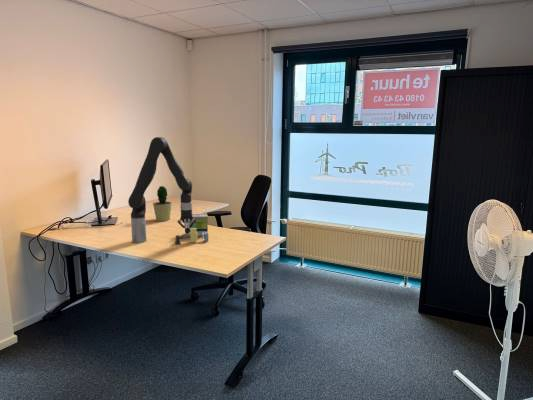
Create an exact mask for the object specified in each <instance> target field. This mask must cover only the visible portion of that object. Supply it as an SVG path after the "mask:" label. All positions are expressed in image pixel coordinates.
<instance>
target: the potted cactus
mask: <svg viewBox="0 0 533 400" xmlns="http://www.w3.org/2000/svg"><path fill="white" fill-rule="evenodd" d="M168 195H169V194H168V190H167V188H166V186H163V185H160V186H158V188H157V190H156V197H157V200H158V201H156V202H155V201H154V202H153V203H152V206H153V211H154V214H155V215H154V216H155V220H156V221H157V222H168V220H169V221H170V220H171V215H172V214H171V212H172V205H173V204H172V203H173V202H171V201H167V198H168Z"/></svg>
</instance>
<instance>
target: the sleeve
mask: <svg viewBox="0 0 533 400" xmlns="http://www.w3.org/2000/svg"><path fill="white" fill-rule="evenodd" d="M189 235H190V238H189V241H190V242H194V241H198V240H199V238H198V234H197V229H196V228H190V232H189Z"/></svg>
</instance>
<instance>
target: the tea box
mask: <svg viewBox="0 0 533 400" xmlns="http://www.w3.org/2000/svg"><path fill="white" fill-rule="evenodd" d="M192 217H193V218H194V219H195V220H196V222H195V223H194V225H193V226H192V227H190V228H196V229H197V234H198V235H200V234H202V233H204V232H208V233H209V231H208V227H209V226H208V225H209V224H208V221H209V220H208V218H209V216H208V214H207V213H192ZM192 222H193V221H191V222H190V224H191V223H192ZM190 228H189V232H190ZM187 235H189V233H188V234H186V236H187Z"/></svg>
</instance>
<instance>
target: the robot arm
mask: <svg viewBox="0 0 533 400" xmlns="http://www.w3.org/2000/svg"><path fill="white" fill-rule="evenodd" d="M160 154H161V155H163V158H164V159H165V161H166V164H167V167H168V169H169V171H170V173H171V174H172V175H173V177H174V179H175V182H176V184H177V186H178V188H179V189H180V190H181V194H180V206H179V207H180V218H179V219H178V220H176V222H177V223H178V224H179V225H180V227H182V228H183V229H184V233H185V234H186V235H187V234H188V233H189V228H190V227H192V226H193V225H194V223H195V222H196V220H195V219H194V218H193V217H192V214H193V204H192V192H193V182H192V181H191V180H190V179H189V178H186V177H185V175H184V174H185V172H184V170H183V168H182V167H181V165H180V164H179V163H178V161H177V160H176V158H175V155H174V154H173V151H172V150H171V148H170V145H169V143H168V141H167V139H166V138H164V137H161V136H155V137H154V138H153V139H151V141H150V143H149V146H148V151H147V155H146V156H145V160H144V162H143V164H142V167H141V169H140V172H139V174H138V177H137V179H136V182H135V186H134V188H133V189H132V192H131V194H130V196H129V197H128V200H127V201H128V203H127V204H128V206H129V207H130V208H131V209H132V210H131V213H130V220H131V221H130V222H131V240H132V241H131V242H132V244H139V243H144V242H145V243H146V242H147V227H146V226H147V225H146V211H147V210H146V209H147V208H146V207H147V206H146V205H147V203H146V197H145V196H144V195H145V193H146V191H147V189H148V187H149V186H150V185H151V183H152V181H153V179H154V178H155V175H156V172H157V165H158V159H159V156H160ZM191 221H193V222H192V223H191V224H190V222H191Z"/></svg>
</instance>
